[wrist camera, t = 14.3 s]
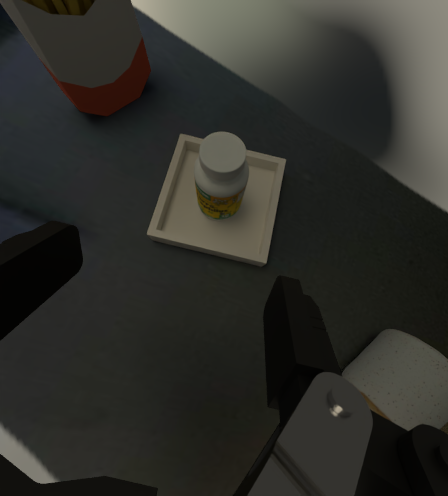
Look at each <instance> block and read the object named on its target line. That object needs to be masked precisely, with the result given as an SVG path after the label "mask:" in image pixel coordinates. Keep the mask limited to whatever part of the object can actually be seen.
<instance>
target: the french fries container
mask: <svg viewBox="0 0 448 496" xmlns="http://www.w3.org/2000/svg"><path fill="white" fill-rule="evenodd" d="M0 3H1V5H2V6H3V7H4V9H5V10H6V12H7V13H8V15H9V16H10V17H11V19H12V20H13V22H14V23H15V25H16V26H17V27H18V29H19V30H20V32H21V33H22V35H23V36H24V37H25V39H26V40H27V42H28V43H29V45H30V46H31V47H32V49H33V50H34V52H35V53H36V55H37V56H38V57H39V59H40V60H41V62H42V63H43V64H44V66H45V67H46V69H47V70H48V72H49V73H50V74H51V76H52V77H53V79H54V80H55V82H56V83H57V84H58V86H59V87H60V89H61V90H62V91H63V92H64V94H65V95H66V96H67V97H68V98H69V99H70V101H71V102H72V103H73V104H74V105H75V106H76V107H77V109H78V110H79V111H80V112H86V113H91V114H97V115H102V116H109V115H111V114H112V113H114V112H116V111H117V110H119V109H121V108H122V107H124V106H126V105H127V104H129V103H131V102H132V101H134V100H136V99H137V98H139V97H140V96H141V93H142V91H143V89H144V86H145V84H146V81H147V79H148V77H149V74H150V72H151V69H150V65H149V61H148V57H147V53H146V49H145V45H144V41H143V37H142V34H141V31H140V28H139V25H138V22H137V19H136V15H135V12H134V9H133V6H132V3H131V0H0Z"/></svg>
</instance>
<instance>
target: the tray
mask: <svg viewBox="0 0 448 496" xmlns="http://www.w3.org/2000/svg"><path fill="white" fill-rule="evenodd" d="M203 140H204V139H201V138H196V137H192V136H188V135H184V134H180V137H179V140H178V143H177V146H176V149H175V152H174V155H173V158H172V161H171V164H170V167H169V170H168V173H167V176H166V179H165V182H164V185H163V187H162V190H161V193H160V196H159V199H158V202H157V205H156V208H155V211H154V214H153V217H152V220H151V223H150V226H149V229H148V232H147V235H148V236H149V237H150V238H151V239H152V240H153V241H157V242H161V243H165V244H169V245H173V246H177V247H182V248H186V249H190V250H194V251H198V252H202V253H206V254H211V255H215V256H219V257H223V258H227V259H231V260H235V261H239V262H244V263H248V264H252V265H256V266H260V267H262V266H263V265H265V264H266V263H267V257H268V252H269V247H270V242H271V236H272V231H273V226H274V220H275V215H276V210H277V204H278V199H279V194H280V188H281V183H282V178H283V172H284V167H285V162H286V159H282V158H278V157H274V156H270V155H266V154H262V153H258V152H254V151H250V150H246V161H247V163H248V166H249V178H248V182H247V185H246V189H245V192H244V195H243V199H242V202H241V205H240V208H239V210H238V212H237V213H236V214H235V215H234V216H233V217H231V218H229V219H226V220H221V221H217V220H212V219H210V218H208V217H206V216H205V215H204V214H203V213H202V212H201V210H200V208H199V205H198V201H197V194H196V187H195V179H194V165H195V162H196V160H197V158H198V156H199V148H200V145H201V143H202V141H203Z"/></svg>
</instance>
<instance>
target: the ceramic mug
mask: <svg viewBox="0 0 448 496" xmlns="http://www.w3.org/2000/svg"><path fill="white" fill-rule="evenodd" d="M342 376H343V378H345V379H346V380H348V381H349V382H350V383H352V384H353V385H354V386H355V387H356V388H357V389H358V390H359V392H360V393H361V394H362V395H363V397H364V399H365V400H366V402H367V404H368V406H369V408H370V409H371V410H372V411H374V412H376V413H377V414H379V415H381V416H383V417H384V418H386V419H388V420H390V421H392V422H393V423H395V424H397V425H399V426H400V427H402V428H404V429H406V430H407V431H409V430H411V429H412V428H414V427H415V426H417V425H420V424H426V425H430V426H433V427H436V428H437V429H440V428H441V427H442V426H444V425H445V424H446V423H447V422H448V359H447V358H446V357H444V356H443V355H442V354H441V353H440V352H438V351H437V350H436V349H434V348H433V347H431V346H430V345H428V344H426V343H424V342H423V341H421V340H419V339H418V338H416V337H414V336H412V335H409V334H407V333H404V332H401V331H398V330H395V329H387V330H383V331H382V332H381V333H380V334H379V335H378V336H377V337H376V338H375V339H374V340H373V341H372V342H371V344H369V345H368V346H367V347H366V348H365V349H364V350H363V351H362V352H361V353H360V354H359V355H358V357H357V358H356V359H354V360H353V361H352V362H351V363H350V364H349V365H348V366H347V367H346V368H345V370H344V371H343V373H342Z"/></svg>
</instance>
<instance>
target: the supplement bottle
mask: <svg viewBox="0 0 448 496" xmlns="http://www.w3.org/2000/svg"><path fill="white" fill-rule="evenodd" d="M248 178H249V166H248V163H247V161H246V148H245V145H244V143H243V142H242V141H241V139H240V138H238V137H237V136H236V135H234V134H231V133H228V132H216V133H212V134H210V135H208V136H207V137H206V138H205V139H204V140H203V141H202V143H201V145H200V148H199V156H198V158H197V160H196V162H195V165H194V179H195V187H196V194H197V201H198V205H199V208H200V210H201V212H202V213H203V214H204V215H205V216H206V217H208V218H210V219H212V220H217V221H221V220H226V219H229V218H231V217H233V216H234V215H235V214H236V213H237V212H238V210H239V208H240V205H241V202H242V199H243V195H244V192H245V189H246V185H247V182H248Z"/></svg>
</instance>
